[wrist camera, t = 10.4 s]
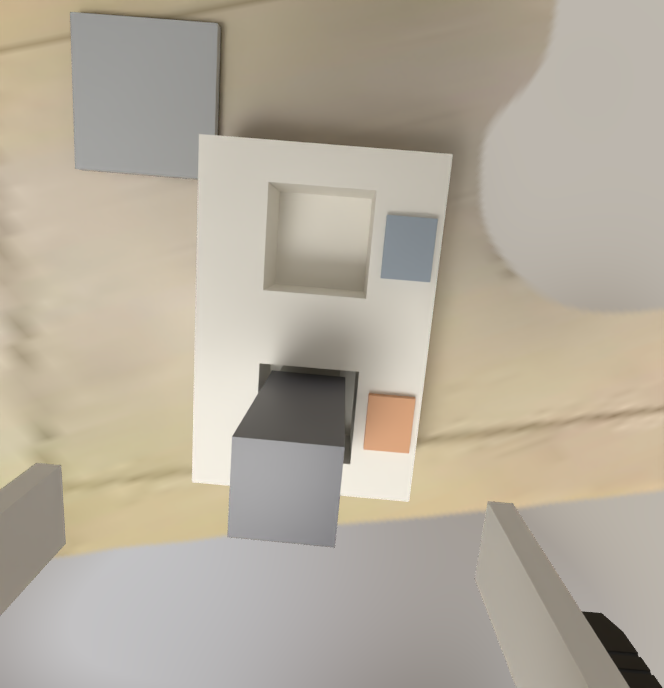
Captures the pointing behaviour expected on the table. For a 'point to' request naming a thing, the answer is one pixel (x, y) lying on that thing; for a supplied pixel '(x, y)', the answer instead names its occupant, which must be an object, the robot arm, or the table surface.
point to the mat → (143, 93)
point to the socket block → (317, 292)
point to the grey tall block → (290, 459)
